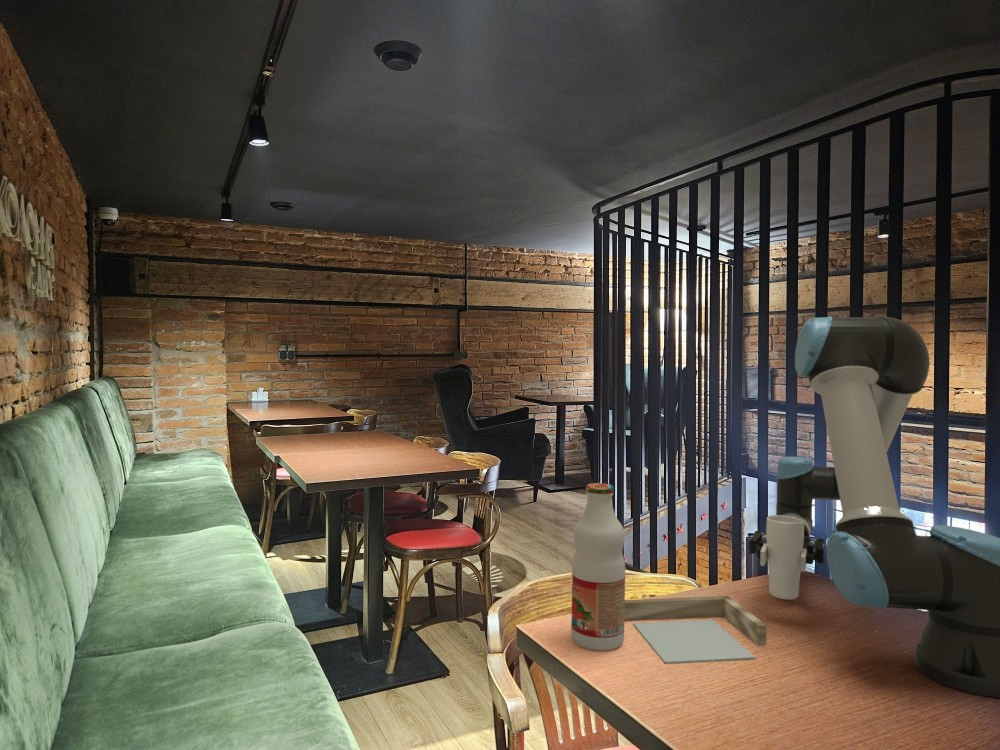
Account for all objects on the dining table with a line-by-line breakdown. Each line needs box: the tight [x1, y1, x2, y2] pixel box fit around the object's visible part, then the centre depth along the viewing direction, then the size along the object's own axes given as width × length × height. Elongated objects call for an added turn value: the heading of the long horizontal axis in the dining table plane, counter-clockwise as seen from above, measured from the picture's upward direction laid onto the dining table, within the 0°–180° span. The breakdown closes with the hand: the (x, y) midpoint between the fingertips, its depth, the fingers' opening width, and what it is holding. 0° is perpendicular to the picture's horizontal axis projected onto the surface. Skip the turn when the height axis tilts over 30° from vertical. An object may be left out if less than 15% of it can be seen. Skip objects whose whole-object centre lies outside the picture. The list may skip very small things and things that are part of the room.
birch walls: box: [624, 595, 768, 646], centre depth 122 cm, size 14×24×4 cm, turn 97°
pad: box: [632, 619, 756, 665], centre depth 118 cm, size 16×16×1 cm
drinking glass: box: [765, 514, 804, 600], centre depth 128 cm, size 7×7×15 cm
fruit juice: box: [570, 482, 626, 652], centre depth 117 cm, size 9×9×28 cm
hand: (782, 561), depth 123 cm, fingers closed on drinking glass, 6 cm apart
